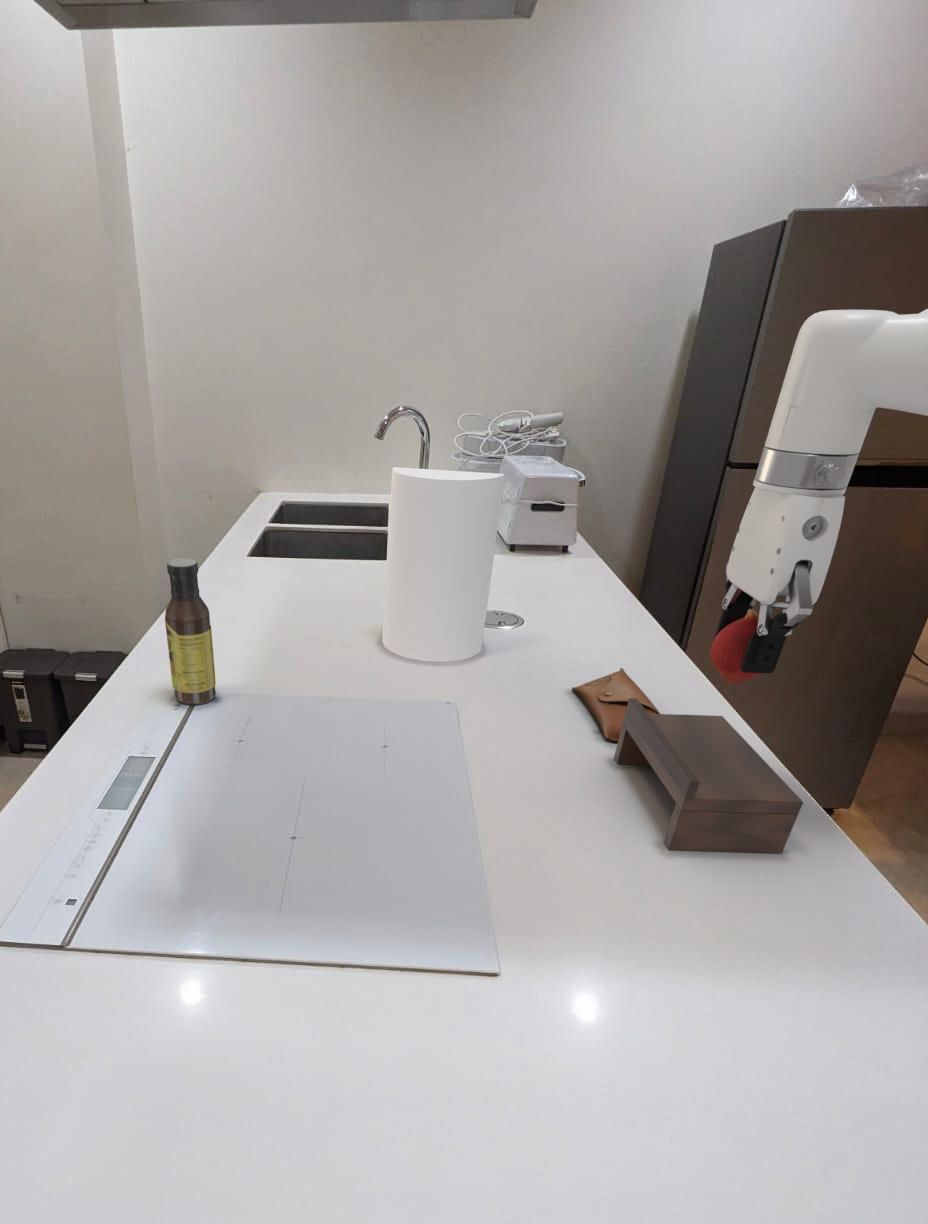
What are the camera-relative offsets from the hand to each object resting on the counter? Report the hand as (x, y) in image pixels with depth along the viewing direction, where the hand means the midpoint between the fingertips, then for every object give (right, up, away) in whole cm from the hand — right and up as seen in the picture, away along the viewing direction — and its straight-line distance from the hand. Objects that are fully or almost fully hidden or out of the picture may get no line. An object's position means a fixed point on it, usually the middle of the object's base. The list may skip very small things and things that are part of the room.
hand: (741, 657), depth 78 cm
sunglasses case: (-2, -3, +30) cm, 30 cm away
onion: (0, -3, +2) cm, 3 cm away
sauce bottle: (-63, 0, +33) cm, 71 cm away
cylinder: (-25, +12, +53) cm, 60 cm away
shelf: (0, -15, +10) cm, 18 cm away
